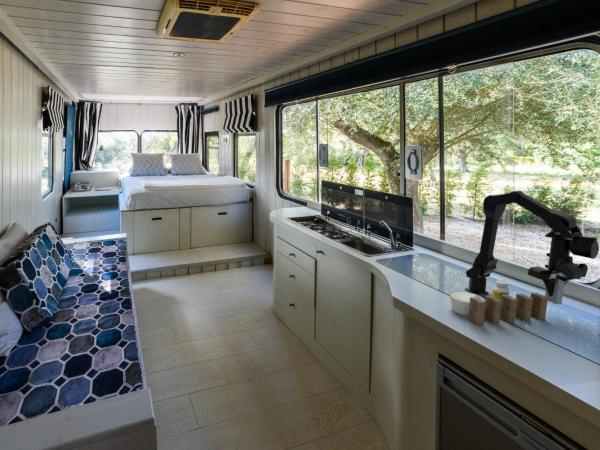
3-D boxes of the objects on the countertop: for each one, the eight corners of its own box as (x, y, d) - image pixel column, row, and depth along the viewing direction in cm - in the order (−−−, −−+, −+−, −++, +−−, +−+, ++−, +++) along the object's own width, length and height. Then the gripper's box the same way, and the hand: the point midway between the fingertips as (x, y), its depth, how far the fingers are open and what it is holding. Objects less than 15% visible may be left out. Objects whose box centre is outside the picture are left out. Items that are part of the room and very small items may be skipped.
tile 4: (483, 318, 140) (485, 296, 139) (489, 317, 141) (491, 295, 139) (493, 324, 136) (496, 301, 134) (499, 323, 136) (501, 300, 135)
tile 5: (467, 319, 139) (470, 297, 138) (473, 319, 140) (475, 296, 138) (477, 325, 134) (479, 302, 133) (483, 325, 135) (485, 302, 133)
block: (544, 299, 145) (547, 277, 144) (549, 298, 145) (552, 277, 144) (556, 304, 140) (559, 281, 139) (561, 304, 141) (564, 281, 139)
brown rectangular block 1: (513, 315, 143) (516, 293, 142) (519, 315, 144) (521, 293, 142) (524, 321, 138) (527, 299, 137) (530, 321, 139) (532, 298, 137)
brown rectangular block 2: (528, 314, 145) (531, 292, 143) (533, 314, 145) (536, 292, 144) (539, 320, 140) (542, 297, 138) (544, 319, 140) (548, 297, 139)
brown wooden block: (498, 317, 142) (501, 294, 140) (504, 316, 142) (506, 294, 141) (509, 323, 137) (511, 300, 136) (514, 322, 138) (517, 299, 136)
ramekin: (488, 318, 141) (490, 303, 140) (455, 317, 141) (456, 302, 140) (475, 305, 152) (476, 292, 151) (445, 305, 152) (446, 291, 151)
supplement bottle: (498, 311, 147) (501, 284, 145) (487, 305, 152) (490, 280, 150) (510, 309, 148) (513, 283, 147) (499, 304, 154) (502, 279, 152)
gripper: (556, 259, 130) (549, 306, 133) (604, 257, 134) (596, 302, 137) (529, 250, 140) (523, 294, 143) (574, 248, 145) (568, 291, 148)
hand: (553, 295), depth 142 cm, fingers closed on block, 2 cm apart
